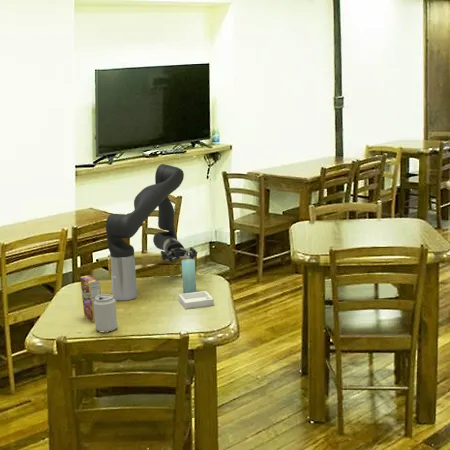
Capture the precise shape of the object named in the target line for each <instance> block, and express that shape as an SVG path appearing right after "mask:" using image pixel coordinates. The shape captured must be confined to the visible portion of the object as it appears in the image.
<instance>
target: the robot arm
mask: <svg viewBox="0 0 450 450" xmlns="http://www.w3.org/2000/svg"><path fill="white" fill-rule="evenodd" d="M184 174H185V173H184V171H183V169H182V168H180V167H178V166H173V165H170V164H165V163H162V164H160V165H158V167H157V168H156V171H155V177H154V178H155V179H154V181H155V183H154V184H150V185H148V186H145V187H144V188H143V189H141V191H140V192H138V193H137V195H136V196H135V197H134V200H133V206H134V210H133V211H131V212H130V213H128V214H127V213H126V214H125V213H111V214H109V215H108V216H107V218H106V222H105V233H106V241H107V248H108V250H109V253H110V254H109V255H110V265H111V266H110V267H111V273H110V280H111V292H112V294H111V295H112V296H113V298H114V299H115V301H130V300H134V299H136V298H137V297H138V289H137V288H138V285H137V274H136V258H135V248H134V246H133V245H131V244H129V243H128V242H127V241H125V240H124V239H131V238H132V237H134V236H135V234H137V232H138V231H139V229H140V228H141V226H142V225H144V222H145V221H146V220H147V219H148V218H149V216H150V215H151V214H152V213H153V212H154V211H155V210H156V209H157V208H158V217H157V227H158V228H159V229H161V230H162V231H158V232H156V233H155V234H154V235H153V238H152V240H153V241H152V242H153V244H154V246H155V247H156V248H157V249H158V250H160V258H161V260H162V261H169V262H170V263H173V262H174V261H175V260H180V259H181V258H184V259H188V258H189V259H194V258H195V257H197V250H196V249H195V248H193V247H191V246H190V247H189V249H188V248H185V247H184V245H183V244H182V243H181V242H180V241H179V240H178V236H177V233H176V228H175V208H174V205H173V204H172V201H171V200H170V198H169V196H170V195H171V194H172V193H173V192H175V191H176V190H177V189H178V188H179V187H181V185H182V184H183V183H182V182H183V180H184V178H185V175H184Z"/></svg>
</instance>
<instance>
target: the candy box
mask: <svg viewBox="0 0 450 450" xmlns="http://www.w3.org/2000/svg"><path fill="white" fill-rule="evenodd" d="M79 277H80V289H81V297H82V298H81V299H82V307H83V316H84V317H85V318H86V317H87V319H88V320H89V319H90V320H89V321H90V322H92V321H93V322H95V315H94V301H95V297H96V296H98V295H102V290H101V281H100V280H99V279H98V278H95V277H94V276H92V275H90V274H88V275H84V276H79ZM93 322H92V323H93Z"/></svg>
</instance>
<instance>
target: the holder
mask: <svg viewBox="0 0 450 450" xmlns="http://www.w3.org/2000/svg"><path fill="white" fill-rule="evenodd" d="M178 302H179V303H180V304H181V306H182V307H183V308H184V309H185V310H191V309H192V310H193V309H198V308H207V307H214V306H215V299H214V298H213V297H212V296H211V294H209V292H208V291H207V290H203V291H196V292H193V293H185V294H184V293H178Z"/></svg>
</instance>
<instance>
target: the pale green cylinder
mask: <svg viewBox="0 0 450 450" xmlns="http://www.w3.org/2000/svg"><path fill="white" fill-rule="evenodd" d="M196 274H197V273H196V260H195V259H194V258H193V259H190V258H184V259H181V276H182V277H181V279H182V290H183V292H182V294H185V293H193V292H197V279H196V276H197V275H196Z"/></svg>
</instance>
